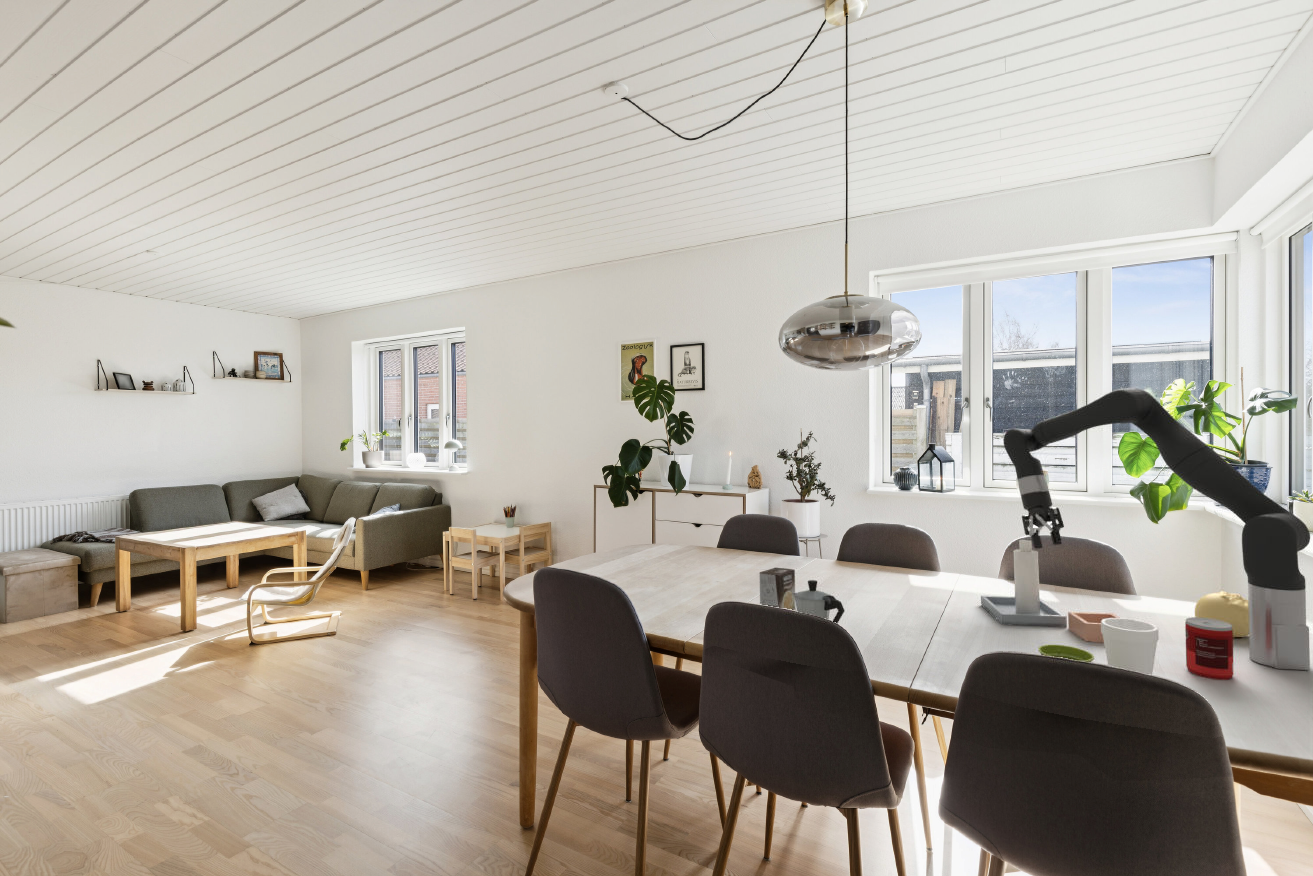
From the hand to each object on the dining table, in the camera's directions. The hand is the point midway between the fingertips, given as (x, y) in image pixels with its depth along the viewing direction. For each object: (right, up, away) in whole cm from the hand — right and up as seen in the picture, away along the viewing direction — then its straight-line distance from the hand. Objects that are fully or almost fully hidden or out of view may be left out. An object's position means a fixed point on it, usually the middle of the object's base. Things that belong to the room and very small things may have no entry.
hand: (1047, 546), depth 185 cm
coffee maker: (-76, -21, -32) cm, 85 cm away
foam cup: (-17, -20, -55) cm, 61 cm away
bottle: (-9, -18, -6) cm, 21 cm away
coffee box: (-81, -21, -10) cm, 84 cm away
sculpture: (+31, -18, -24) cm, 43 cm away
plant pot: (-32, -20, -58) cm, 69 cm away
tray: (-10, -19, -3) cm, 22 cm away
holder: (-1, -19, -23) cm, 30 cm away
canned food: (+5, -19, -49) cm, 53 cm away
